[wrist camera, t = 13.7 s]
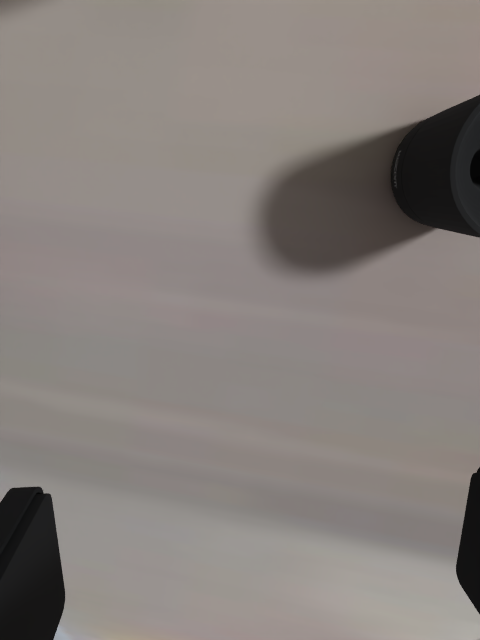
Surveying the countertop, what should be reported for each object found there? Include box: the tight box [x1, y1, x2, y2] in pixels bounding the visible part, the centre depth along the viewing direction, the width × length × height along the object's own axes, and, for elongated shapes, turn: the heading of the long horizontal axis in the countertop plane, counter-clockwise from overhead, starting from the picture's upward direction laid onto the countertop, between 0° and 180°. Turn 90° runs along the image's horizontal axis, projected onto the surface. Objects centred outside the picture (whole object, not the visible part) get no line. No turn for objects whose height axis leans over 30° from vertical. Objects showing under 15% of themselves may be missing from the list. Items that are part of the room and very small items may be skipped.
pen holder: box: [391, 95, 480, 237], centre depth 31 cm, size 9×9×10 cm
